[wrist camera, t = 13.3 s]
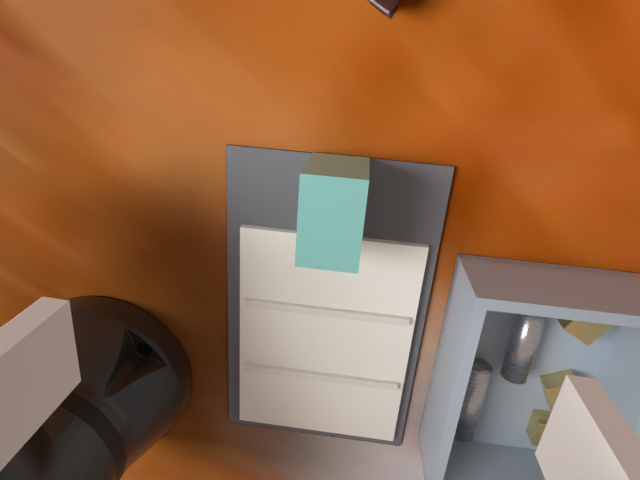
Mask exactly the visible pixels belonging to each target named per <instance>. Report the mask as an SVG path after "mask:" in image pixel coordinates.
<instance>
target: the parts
mask: <svg viewBox="0 0 640 480" xmlns="http://www.w3.org/2000/svg"><path fill="white" fill-rule="evenodd" d="M556 319H557V320H558V322H559V323H560V324H561V326H562V327H563V329H564V330H566V331H567V332H569V333H570V334H571V335H573V336H574V337H576V338H577V339H579V340H580V341H581V342H583V343H584V344H586V345H587V346H589V345H591V344H592V343H593V342H594V341H595V340H597V339H598V338H599V337H600V336H601V335H603V334H604V333H605V332H606V331H607V330H609V329H610V328H611V327H612V326H613V325H609V324H601V323H592V322H583V321H575V320H566V319H558V318H556ZM546 320H547V317H541V316H532V315H524V314H516V317H515V321H514V324H513V328H512V331H511V334H510V338H509V341H508V345H507V348H506V352H505V355H504V359H503V362H502V366H501V369H500V374H501V376H502V377H503V378H504V379H505V380H506V381H508V382H510V383H513V384H518V385H521V384H525V383H526V382H527V379H528V376H529V373H530V370H531V367H532V364H533V361H534V357H535V354H536V351H537V348H538V345H539V342H540V339H541V336H542V333H543V330H544V326H545V323H546ZM492 372H493V368H492V366H491V365H490V364H489V363H488V362H487V361H485V360H483V359H479V358H474V362H473V366H472V370H471V374H470V378H469V382H468V385H467V389H466V393H465V397H464V401H463V405H462V409H461V413H460V416H459V420H458V424H457V428H456V432H455V436H454V438H455V439H456V440H458V441H460V442H463V443H469V442H471V441H472V440H473V439H474V436H475V432H476V429H477V425H478V422H479V418H480V415H481V411H482V407H483V404H484V400H485V397H486V393H487V390H488V386H489V383H490V379H491V375H492ZM566 374H567V375H574V376H575V374H574V373H573V371H572V370H571V369H567V370H562V371H558V372H553V373H548V374H543V375H539V377H540V381H541V385H542V389H543V393H544V397H545V400H546V402H547V404H548V406H549V408H550V410H551V411H549V410H541V409H533V410H532V413H531V416H530V419H529V422H528V425H527V428H526V432H527V434H528V437H529V439H530V442H531V444H532V445H533V446H538V444H539V442H540V439H541V437H542V434H543V432H544V429H545V427H546V424H547V422H548V419H549V417H550V414H551V412H552V409H553V407H554V404H555V402H556V399H557V397H558V394H559V392H560V389H561V387H562V384H563V382H564V379H565V377H566Z"/></svg>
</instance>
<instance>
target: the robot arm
mask: <svg viewBox="0 0 640 480" xmlns="http://www.w3.org/2000/svg"><path fill="white" fill-rule="evenodd" d="M191 387H192V376H191V369H190V365H189V362H188V359H187V357H186V355H185V353H184V351H183V349H182V347H181V346H180V344H179V342H178V341H177V340H176V338H175V337H174V336H173V335H172V334H171V332H170V331H169V330H168V329H167V328H166V327H165V326H164V325H162V324H161V323H160V322H159V321H158V320H156V319H155V318H154V317H152V316H151V315H149V314H148V313H146V312H145V311H143V310H141V309H139V308H137V307H135V306H133V305H131V304H128V303H125V302H123V301H119V300H116V299H112V298H107V297H99V296H83V297H76V298H71V299H68V300H62V299H56V298H49V297H41V298H40V299H38V300H37V301H36V302H34V303H33V304H32V305H30V306H29V307H28V308H26V309H25V310H23V311H22V312H21V313H19V314H18V315H17V316H15V317H14V318H13V319H11V320H10V321H9V322H7V323H6V324H4V325H3V326H2V327H0V480H120V478H121V477H122V475H123V473H124V472H125V470H126V469H127V468H128V467H130V466H131V465H132V464H133V463H134V462H135V461H136V460H137V459H138V458H140V457H141V456H142V455H143V454H144V453H145V452H146V451H147V450H148V449H149V448H151V447H152V446H153V445H154V444H155V443H156V442H157V441H158V440H159V439H160V438H161V437H163V436H164V435H165V434H167V433H168V432H169V431H170V429H171V428H172V427H173V426H174V425H175V423H176V422H177V420H178V418H179V417H180V415H181V413H182V411H183V409H184V407H185V405H186V403H187V402H188V399H189V396H190V393H191ZM535 455H536V458H537V460H538V463H539V465H540V468H541V470H542V473H543V475H544V478H545V480H640V440H639V438H638V437H637V436H636V434H635V433H634V431H633V430H632V428H631V427H630V425H629V424H628V422H627V421H626V419H625V418H624V417H623V415H622V414H621V412H620V411H619V409H618V408H617V406H616V405H615V403H614V402H613V401H612V399H611V398H610V396H609V395H608V393H607V392H606V390H605V389H604V387H603V386H602V384H601V383H600V382H599V380H598V379H594V378H587V377H581V376H574V375H567V374H566V377H565V379H564V382H563V384H562V387H561V389H560V392H559V394H558V397H557V399H556V402H555V404H554V407H553V409H552V412H551V414H550V417H549V419H548V422H547V424H546V427H545V429H544V432H543V434H542V437H541V439H540V442H539V444H538V447H537V449H536V452H535Z"/></svg>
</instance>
